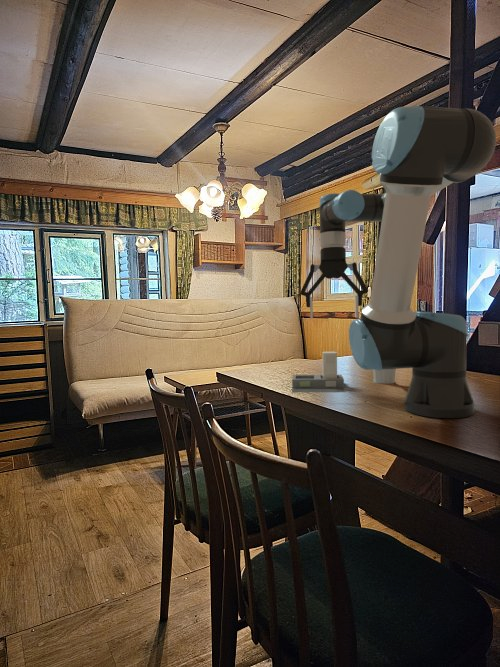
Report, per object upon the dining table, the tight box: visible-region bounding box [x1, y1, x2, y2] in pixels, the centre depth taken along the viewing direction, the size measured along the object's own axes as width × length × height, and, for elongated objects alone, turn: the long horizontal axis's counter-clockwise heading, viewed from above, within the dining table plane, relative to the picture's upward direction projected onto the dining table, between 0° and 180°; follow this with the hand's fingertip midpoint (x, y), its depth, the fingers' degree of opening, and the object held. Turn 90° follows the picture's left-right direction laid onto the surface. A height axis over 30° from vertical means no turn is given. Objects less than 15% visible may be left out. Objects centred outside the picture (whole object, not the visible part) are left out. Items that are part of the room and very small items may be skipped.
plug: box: [322, 351, 338, 379], centre depth 131 cm, size 5×4×10 cm
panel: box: [291, 374, 346, 393], centre depth 132 cm, size 20×15×4 cm
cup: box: [372, 369, 397, 385], centre depth 134 cm, size 8×8×12 cm
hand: (334, 317), depth 133 cm, fingers open, 13 cm apart
